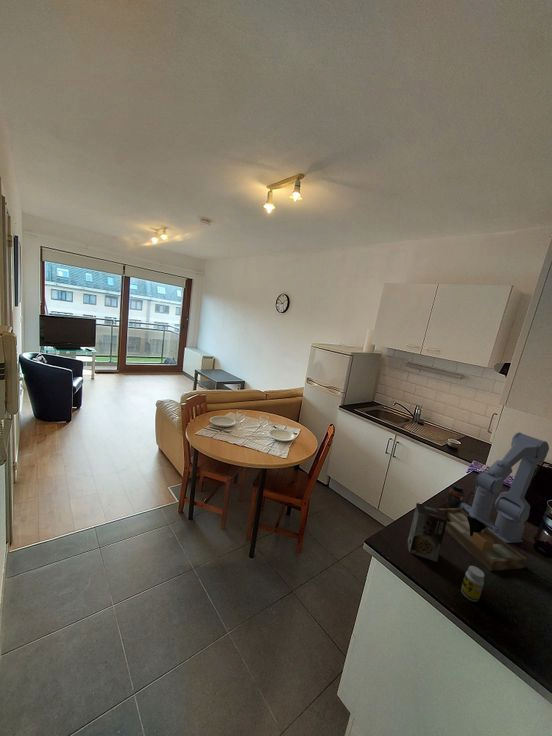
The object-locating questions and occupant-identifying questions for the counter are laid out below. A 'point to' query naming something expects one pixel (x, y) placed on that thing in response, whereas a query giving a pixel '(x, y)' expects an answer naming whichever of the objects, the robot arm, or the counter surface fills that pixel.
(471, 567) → the supplement bottle
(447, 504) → the supplement bottle
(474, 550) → the trap box
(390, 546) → the counter surface
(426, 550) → the coffee box
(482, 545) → the block
